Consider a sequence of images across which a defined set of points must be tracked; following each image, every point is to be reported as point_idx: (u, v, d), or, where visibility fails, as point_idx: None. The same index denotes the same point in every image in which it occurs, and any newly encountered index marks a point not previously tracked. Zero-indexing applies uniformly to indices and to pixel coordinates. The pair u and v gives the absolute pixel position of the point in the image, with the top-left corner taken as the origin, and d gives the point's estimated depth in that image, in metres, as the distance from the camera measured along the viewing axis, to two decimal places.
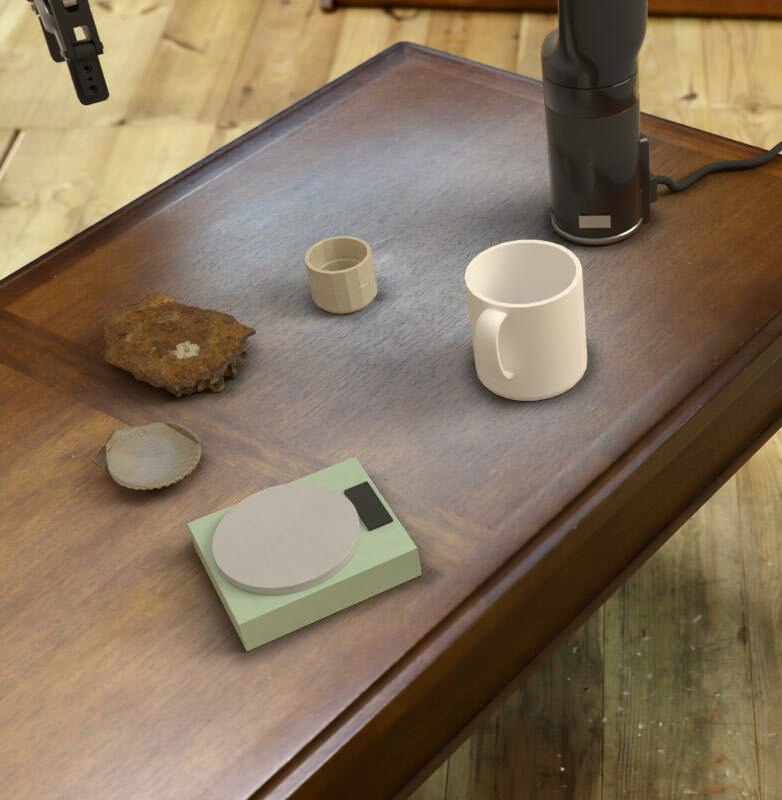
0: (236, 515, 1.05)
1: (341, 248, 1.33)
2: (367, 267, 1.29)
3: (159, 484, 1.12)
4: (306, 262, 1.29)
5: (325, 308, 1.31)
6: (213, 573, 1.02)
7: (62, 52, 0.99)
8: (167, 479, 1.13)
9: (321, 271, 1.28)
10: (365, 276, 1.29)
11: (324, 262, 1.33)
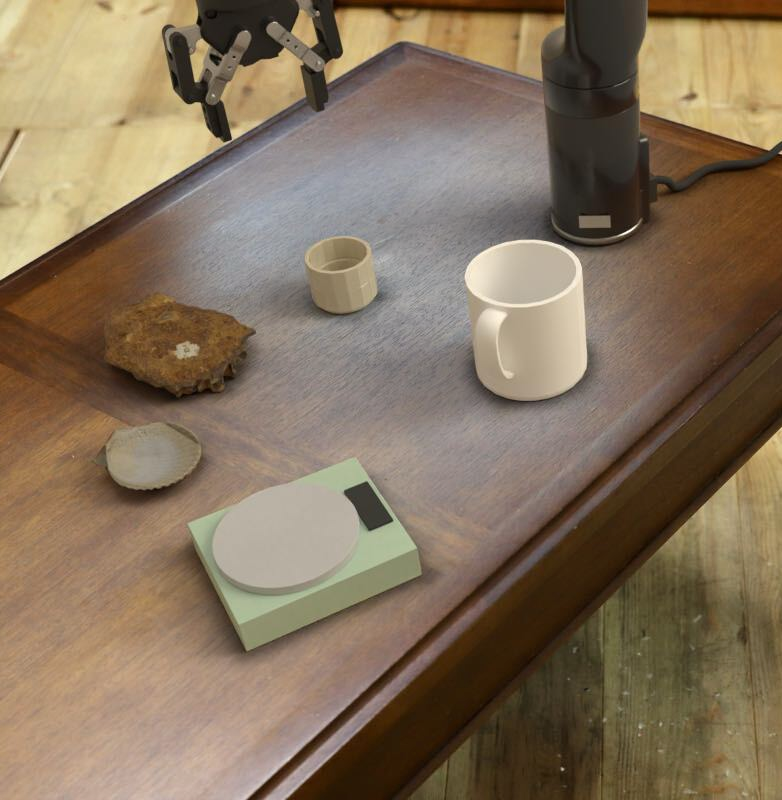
0: (236, 515, 1.05)
1: (341, 248, 1.33)
2: (367, 267, 1.29)
3: (159, 484, 1.12)
4: (306, 262, 1.29)
5: (325, 308, 1.31)
6: (213, 573, 1.02)
7: None
8: (167, 479, 1.13)
9: (321, 271, 1.28)
10: (365, 276, 1.29)
11: (324, 262, 1.33)
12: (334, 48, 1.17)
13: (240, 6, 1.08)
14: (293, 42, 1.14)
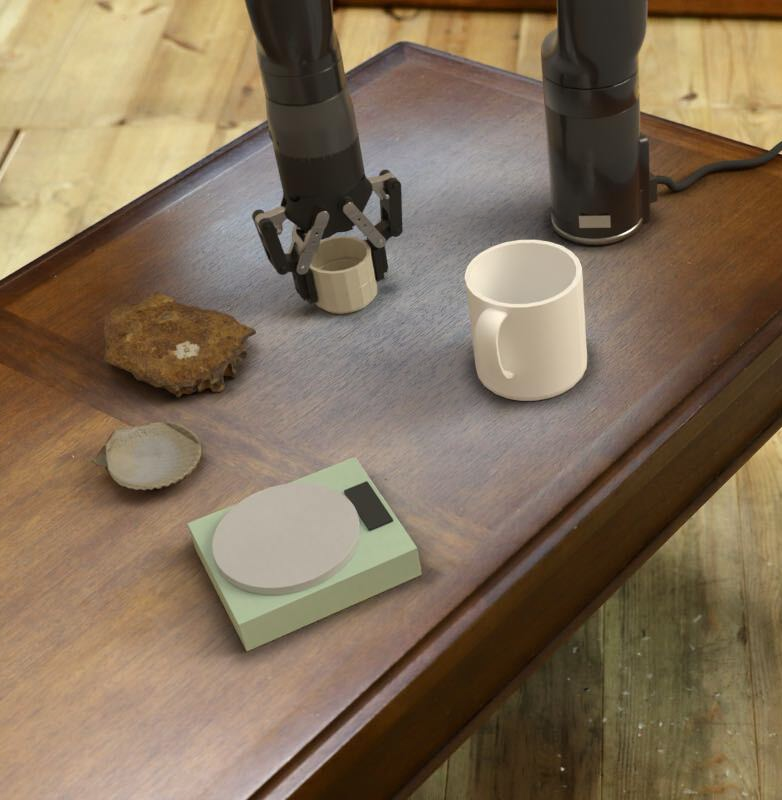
0: (236, 515, 1.05)
1: (341, 248, 1.33)
2: (367, 267, 1.29)
3: (159, 484, 1.12)
4: None
5: (325, 308, 1.31)
6: (213, 573, 1.02)
7: None
8: (167, 479, 1.13)
9: (321, 271, 1.28)
10: (365, 276, 1.29)
11: (324, 262, 1.33)
12: (396, 227, 1.30)
13: (321, 194, 1.21)
14: (363, 221, 1.27)
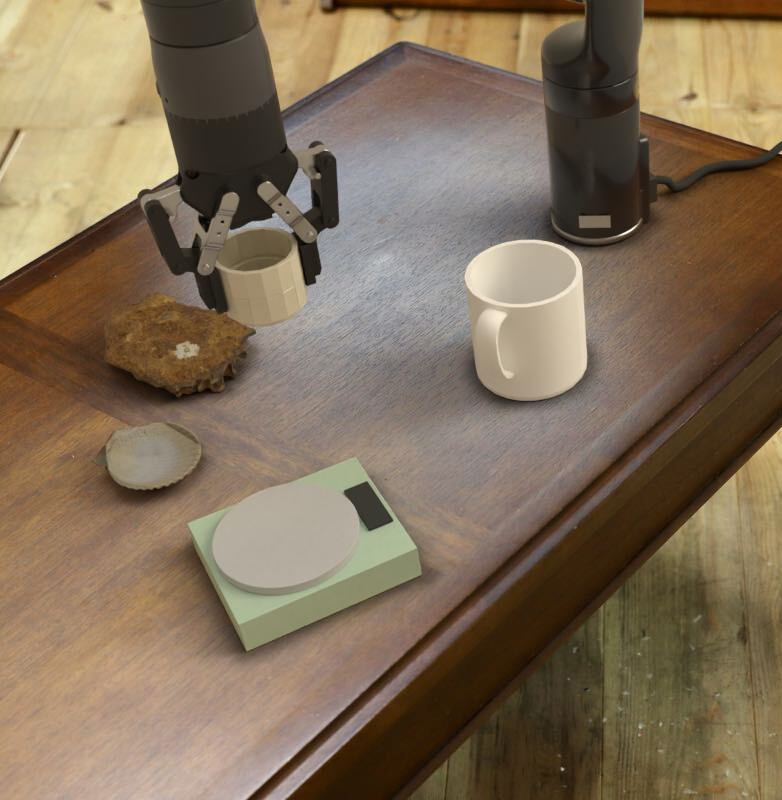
0: (236, 515, 1.05)
1: (261, 242, 1.03)
2: (291, 267, 1.00)
3: (159, 484, 1.12)
4: None
5: (237, 319, 1.01)
6: (213, 573, 1.02)
7: None
8: (167, 478, 1.13)
9: (230, 271, 0.98)
10: (289, 279, 1.00)
11: (238, 261, 1.03)
12: (330, 216, 1.00)
13: (225, 168, 0.92)
14: (286, 207, 0.98)
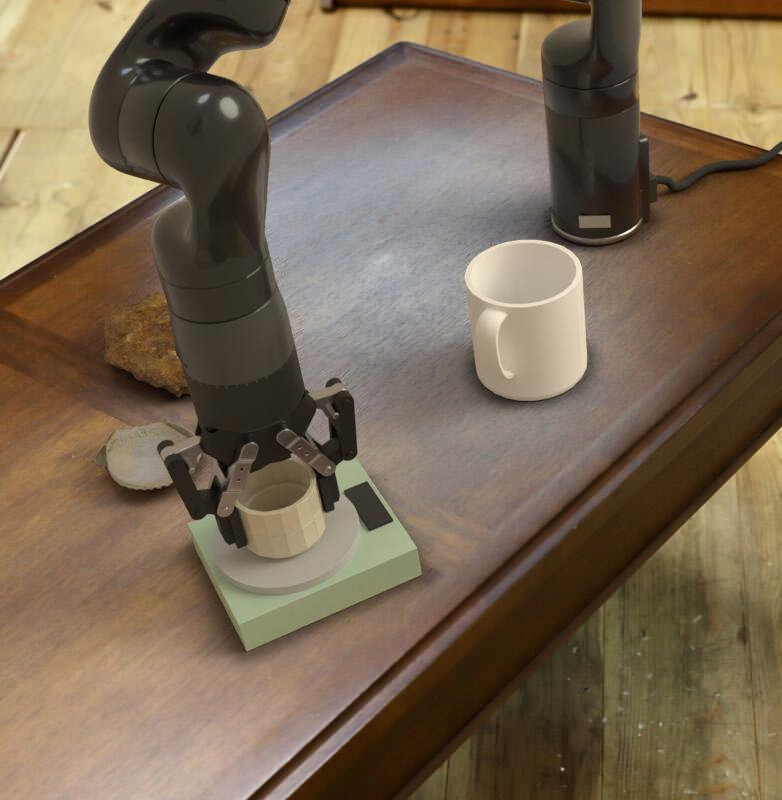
0: None
1: (279, 471, 1.03)
2: (310, 503, 1.00)
3: (159, 484, 1.12)
4: None
5: (257, 553, 1.01)
6: (213, 573, 1.02)
7: None
8: (167, 479, 1.13)
9: (250, 511, 0.98)
10: (308, 514, 1.00)
11: (256, 489, 1.03)
12: (348, 450, 1.01)
13: (245, 427, 0.92)
14: (304, 448, 0.98)
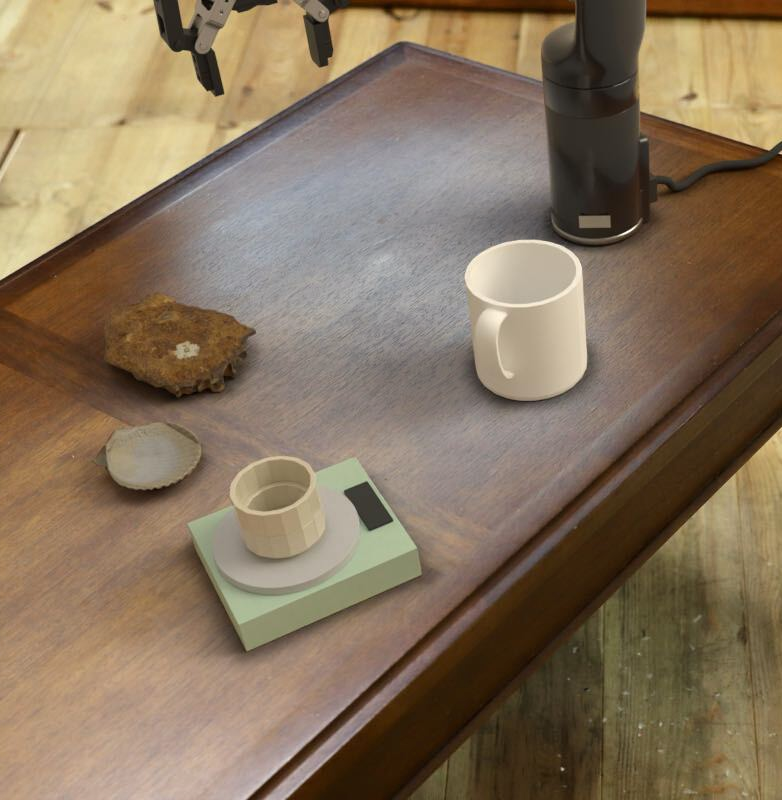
0: None
1: (279, 471, 1.03)
2: (310, 503, 1.00)
3: (159, 484, 1.12)
4: (231, 497, 1.00)
5: (257, 553, 1.01)
6: (213, 573, 1.02)
7: None
8: (167, 478, 1.13)
9: (250, 511, 0.98)
10: (308, 514, 1.00)
11: (256, 489, 1.03)
12: None
13: None
14: None
